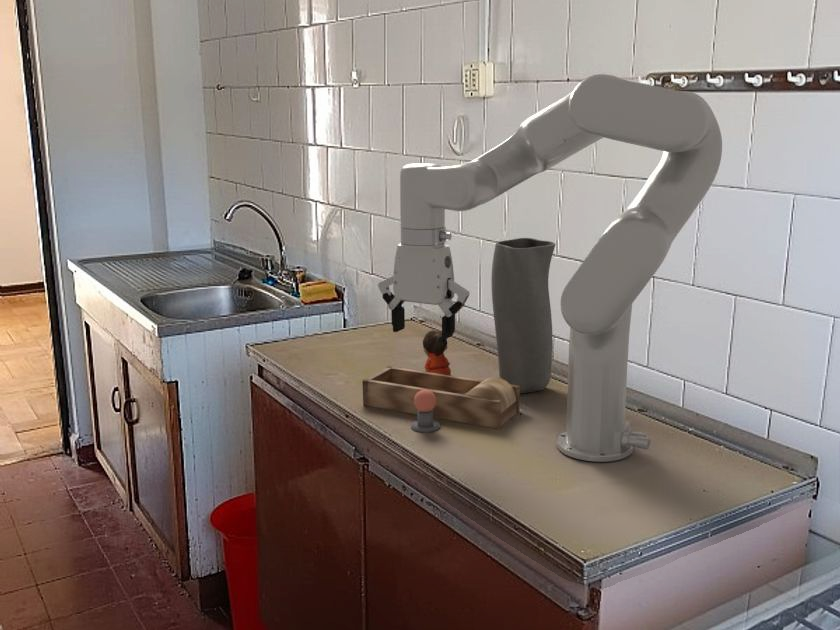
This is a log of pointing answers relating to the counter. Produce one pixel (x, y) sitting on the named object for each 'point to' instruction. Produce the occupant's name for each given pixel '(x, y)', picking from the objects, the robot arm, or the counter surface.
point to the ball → (425, 400)
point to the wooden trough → (444, 395)
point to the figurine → (436, 353)
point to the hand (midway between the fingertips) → (422, 333)
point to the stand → (425, 422)
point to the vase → (523, 311)
